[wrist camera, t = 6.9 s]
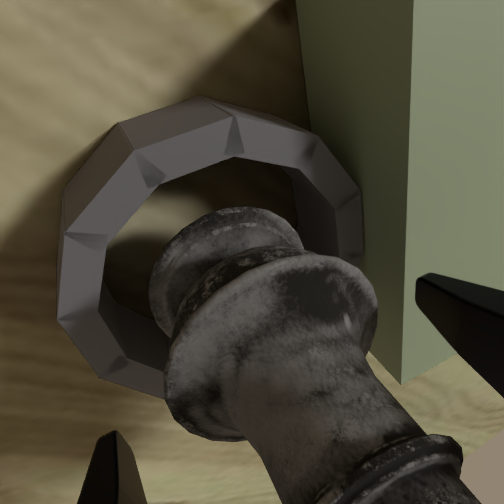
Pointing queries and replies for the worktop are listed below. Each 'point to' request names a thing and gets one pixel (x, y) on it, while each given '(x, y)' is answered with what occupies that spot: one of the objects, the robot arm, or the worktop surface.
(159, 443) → the worktop surface
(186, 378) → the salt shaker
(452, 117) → the block with end pegs
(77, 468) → the worktop surface
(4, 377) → the worktop surface
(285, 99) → the worktop surface
